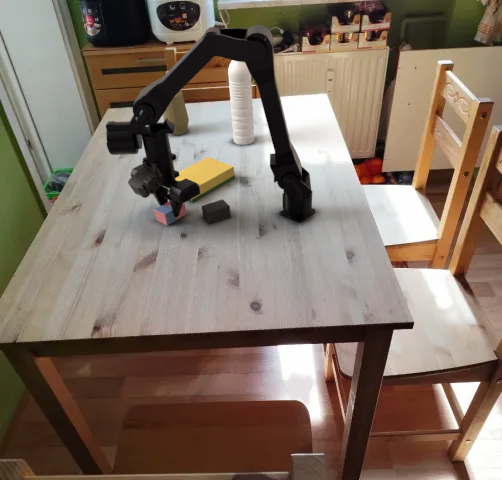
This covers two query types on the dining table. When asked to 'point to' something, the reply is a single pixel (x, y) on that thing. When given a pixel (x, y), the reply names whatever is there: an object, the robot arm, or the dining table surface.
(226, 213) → the grey eraser
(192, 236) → the dining table surface
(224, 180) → the sponge
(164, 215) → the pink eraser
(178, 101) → the squeeze bottle
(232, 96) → the water bottle
